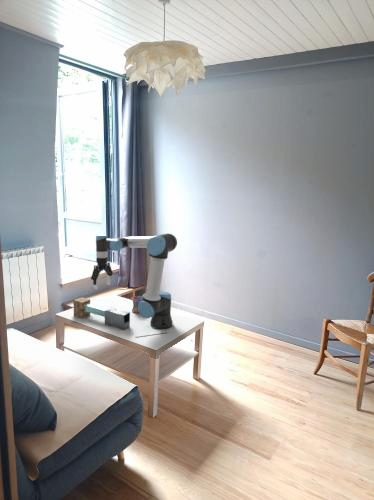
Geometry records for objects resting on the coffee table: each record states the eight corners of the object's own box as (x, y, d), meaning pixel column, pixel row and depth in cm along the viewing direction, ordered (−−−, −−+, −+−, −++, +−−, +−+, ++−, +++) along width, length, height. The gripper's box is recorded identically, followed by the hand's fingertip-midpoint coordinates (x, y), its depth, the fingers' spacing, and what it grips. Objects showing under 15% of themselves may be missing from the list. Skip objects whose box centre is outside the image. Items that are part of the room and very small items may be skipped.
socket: (90, 314, 265) (90, 299, 263) (82, 318, 258) (81, 302, 256) (82, 312, 269) (81, 297, 267) (73, 315, 262) (73, 300, 260)
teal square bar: (114, 317, 253) (114, 308, 251) (108, 319, 248) (108, 311, 246) (83, 308, 266) (83, 300, 265) (77, 310, 261) (77, 302, 260)
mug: (136, 314, 270) (137, 300, 268) (128, 311, 276) (129, 297, 274) (149, 310, 279) (149, 297, 277) (141, 307, 285) (141, 294, 283)
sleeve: (129, 327, 247) (130, 312, 245) (123, 330, 242) (123, 315, 240) (111, 321, 255) (111, 307, 253) (104, 324, 249) (104, 310, 247)
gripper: (109, 253, 268) (109, 282, 272) (85, 259, 246) (85, 290, 250) (117, 254, 265) (117, 283, 269) (93, 260, 243) (94, 291, 247)
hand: (102, 286), depth 259 cm, fingers open, 13 cm apart
